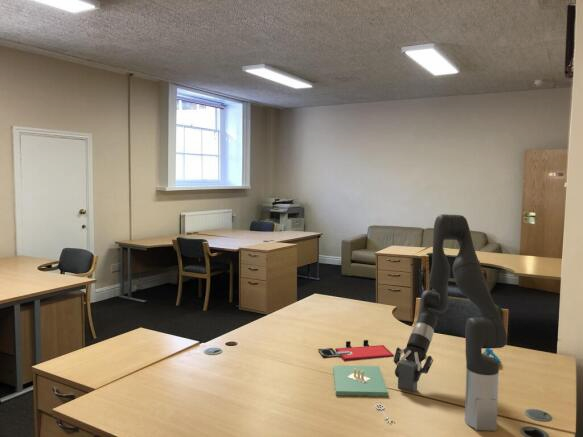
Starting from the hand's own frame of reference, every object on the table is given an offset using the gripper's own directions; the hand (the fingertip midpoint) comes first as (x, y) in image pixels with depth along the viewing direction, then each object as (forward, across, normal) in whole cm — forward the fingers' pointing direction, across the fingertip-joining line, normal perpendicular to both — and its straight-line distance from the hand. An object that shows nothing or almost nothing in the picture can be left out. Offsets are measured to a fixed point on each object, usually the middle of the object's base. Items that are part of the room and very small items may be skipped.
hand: (405, 378), depth 162 cm
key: (+17, +2, -10) cm, 20 cm away
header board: (+7, -16, 0) cm, 18 cm away
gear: (-31, +14, +37) cm, 50 cm away
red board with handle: (-9, -33, +16) cm, 38 cm away
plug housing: (+2, 0, +4) cm, 5 cm away
